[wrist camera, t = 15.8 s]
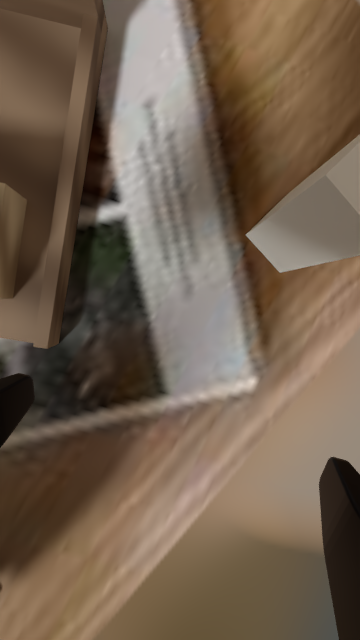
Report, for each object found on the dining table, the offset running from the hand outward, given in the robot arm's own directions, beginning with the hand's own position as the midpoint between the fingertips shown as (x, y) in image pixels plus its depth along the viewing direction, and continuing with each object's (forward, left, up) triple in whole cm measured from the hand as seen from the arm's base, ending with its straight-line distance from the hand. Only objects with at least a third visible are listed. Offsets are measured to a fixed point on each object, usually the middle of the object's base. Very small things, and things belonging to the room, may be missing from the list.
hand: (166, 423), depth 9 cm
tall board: (+11, +2, -11) cm, 16 cm away
